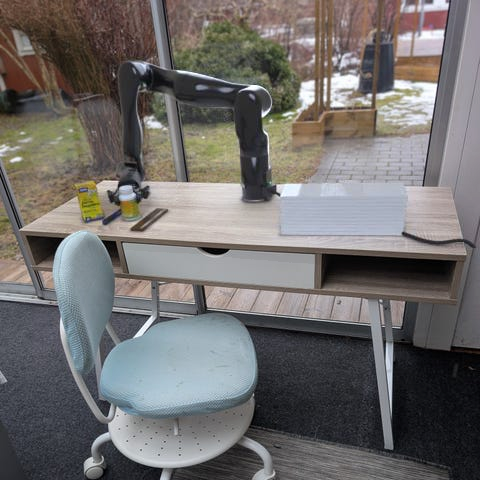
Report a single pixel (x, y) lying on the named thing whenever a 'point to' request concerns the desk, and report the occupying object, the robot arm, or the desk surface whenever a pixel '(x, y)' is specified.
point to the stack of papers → (343, 209)
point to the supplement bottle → (128, 203)
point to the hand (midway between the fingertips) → (127, 201)
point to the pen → (112, 217)
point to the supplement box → (89, 201)
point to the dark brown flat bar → (149, 219)
